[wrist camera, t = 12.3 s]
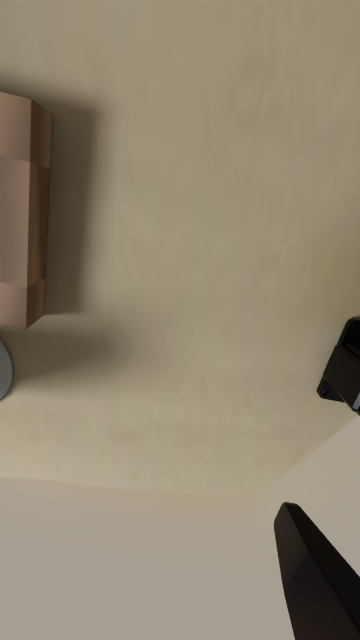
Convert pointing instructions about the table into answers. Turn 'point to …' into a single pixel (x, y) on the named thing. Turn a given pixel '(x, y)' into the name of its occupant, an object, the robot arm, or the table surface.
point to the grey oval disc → (5, 369)
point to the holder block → (23, 208)
